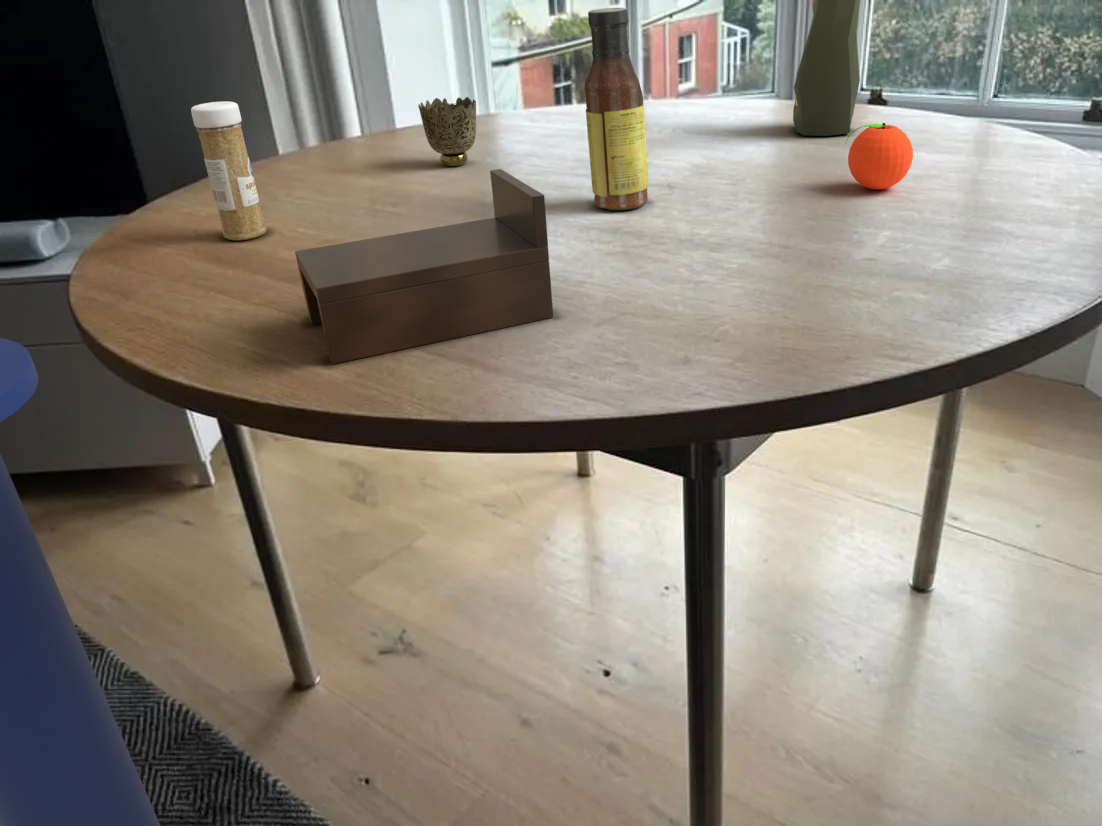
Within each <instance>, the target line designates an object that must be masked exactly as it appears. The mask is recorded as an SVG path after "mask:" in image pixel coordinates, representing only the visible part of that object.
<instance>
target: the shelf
mask: <svg viewBox="0 0 1102 826" xmlns="http://www.w3.org/2000/svg"><path fill="white" fill-rule="evenodd" d="M489 172H490V173H489V174H490V183H491V193H492V202H493V212H494V213H493V214H494V217H489V218H482V219H478V220H472V221H466V222H461V223H454V224H448V225H442V226H436V227H430V228H425V229H419V230H413V231H407V232H401V233H395V234H389V235H382V236H378V237H371V238H366V239H359V240H355V241H354V240H353V241H348V242H343V243H337V244H330V245H324V246H318V247H312V248H306V249H299V250H295V252H294V254H295V259H296V263H297V267H298V268H297V269H298V272H299V278H300V283H301V286H302V287H301V288H302V290H303V295H304V300H305V304H306V309H307V314H308V319H309V321H310V323H311V325H312V326H315V325H320V324H321V326H322V330H323V334H324V340H325V344H326V349H327V355H328V358H329V361H330V363H331V364H332V365H337V364H340V363H345V362H350V361H355V360H359V359H364V358H368V357H373V356H377V355H383V354H387V353H392V352H397V351H400V350H405V349H411V348H415V347H421V346H425V345H429V344H433V343H434V344H435V343H439V342H444V341H449V340H453V339H457V338H462V337H467V336H471V335H477V334H480V333H485V332H491V331H494V330H500V329H504V328H509V327H513V326H514V327H515V326H519V325H523V324H529V323H533V322H537V321H542V320H546V319H551V318H554V307H553V295H552V293H553V292H552V281H551V280H552V279H551V268H550V267H551V266H550V253H549V239H548V225H547V212H546V202H545V201H546V199H545V194H543V193H541V192H540V191H538V190H537V189H535V188H534V187H531V186H530V185H528V184H527V183H525V182H523V181H522V180H520V179H518V178H517V177H516V176H514V175H512V174H510V173H508V172H507V171H505V170H503V169H501V168H497V169H491V170H490V171H489Z"/></svg>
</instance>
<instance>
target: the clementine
mask: <svg viewBox="0 0 1102 826" xmlns="http://www.w3.org/2000/svg"><path fill="white" fill-rule="evenodd" d="M862 128H865V129H864V130H863V131H861V132H859V134H857V136H856V137H855V139H853V141H852V143H851V145H850V148H849V151H848V155H847V165H848V166H847V167H848V168H849V172H850V175H852V177H853V179H854V180H855V181H856V182H857V183H858V184H860V185H861V186H862V187H865V188H868V189H870V190H874V191H875V190H879V191H880V190H885V189H888V188H892V187H893V186H895V185H897V184H898V183H900V182H901V181H902V180H903V179H904V178H905V177H906V176H907V174H908V172H909V171H910V169H911V167H912V163H913V160H914V149H913V144H912V142H911V140H910V138H909V136H908V135H907V134H906V132H904V131H903V130H901V128H899V127H898V126H896V125H891V124H886V122H882V123H881V124H880V123H870V124H865V125H862V126H860V127H857V128H855V129H854V130H852V131H850V133H849V134H848V136H847V138H846V140H845V143H844V144H847V142H848V140H849V138H850V137H851V135H852V134H853V133H855V132H856V131H857V130H859V129H862Z"/></svg>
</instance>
